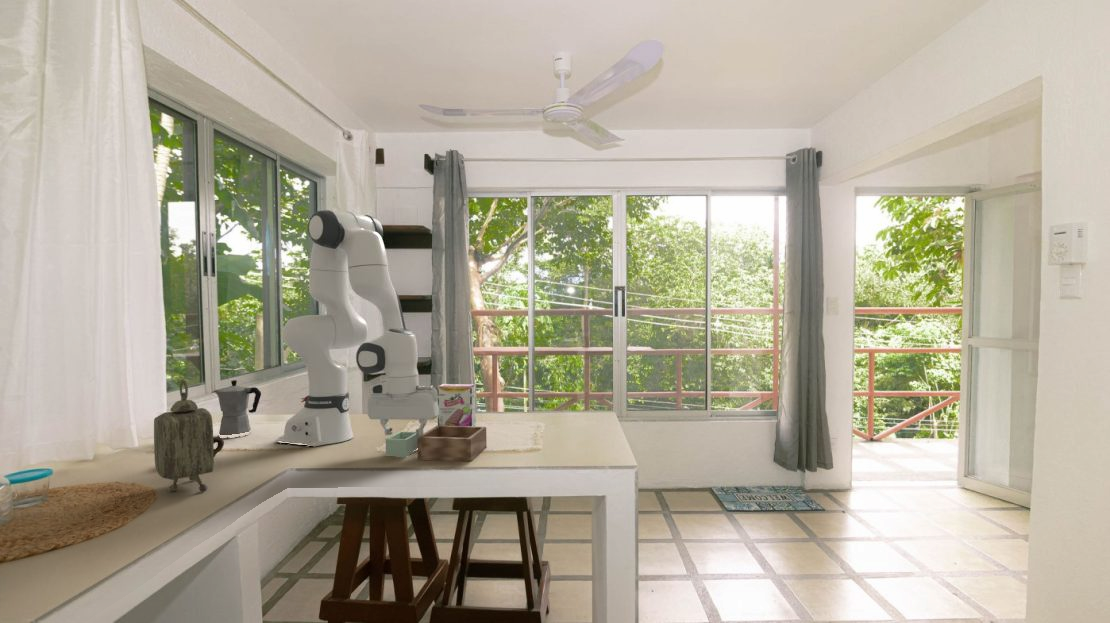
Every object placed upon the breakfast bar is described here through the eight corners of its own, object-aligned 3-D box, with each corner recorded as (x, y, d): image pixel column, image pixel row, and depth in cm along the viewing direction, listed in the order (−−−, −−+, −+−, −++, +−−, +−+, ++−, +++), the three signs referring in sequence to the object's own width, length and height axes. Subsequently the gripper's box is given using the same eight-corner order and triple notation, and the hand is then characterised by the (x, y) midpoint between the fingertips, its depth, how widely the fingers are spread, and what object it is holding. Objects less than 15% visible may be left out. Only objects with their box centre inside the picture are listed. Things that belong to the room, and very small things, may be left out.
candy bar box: (437, 438, 165) (436, 386, 165) (442, 434, 170) (441, 383, 170) (472, 439, 164) (471, 386, 164) (476, 435, 169) (475, 383, 169)
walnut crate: (417, 459, 143) (417, 437, 143) (437, 445, 157) (437, 425, 157) (471, 461, 140) (470, 439, 140) (486, 447, 154) (486, 426, 154)
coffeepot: (205, 439, 168) (204, 382, 168) (225, 431, 177) (223, 378, 177) (252, 439, 167) (251, 382, 167) (270, 431, 177) (268, 378, 176)
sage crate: (385, 457, 146) (385, 439, 146) (400, 448, 155) (400, 431, 155) (406, 458, 145) (406, 439, 145) (420, 449, 154) (419, 432, 154)
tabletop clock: (214, 491, 120) (212, 381, 119) (165, 502, 113) (162, 386, 113) (200, 477, 130) (198, 375, 130) (154, 486, 124) (151, 379, 123)
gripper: (441, 384, 150) (443, 432, 150) (375, 384, 154) (376, 432, 154) (432, 387, 144) (434, 438, 144) (363, 387, 148) (365, 437, 148)
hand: (404, 435), depth 149 cm, fingers open, 8 cm apart
